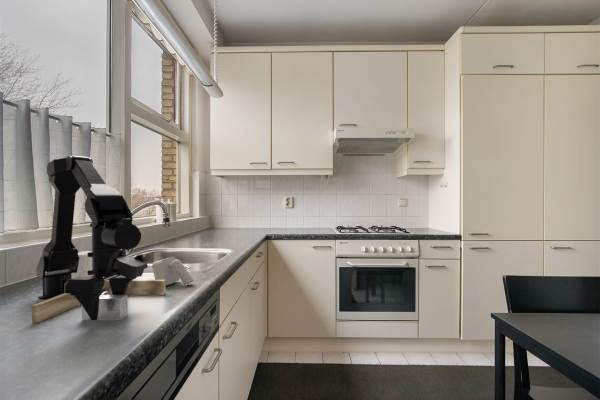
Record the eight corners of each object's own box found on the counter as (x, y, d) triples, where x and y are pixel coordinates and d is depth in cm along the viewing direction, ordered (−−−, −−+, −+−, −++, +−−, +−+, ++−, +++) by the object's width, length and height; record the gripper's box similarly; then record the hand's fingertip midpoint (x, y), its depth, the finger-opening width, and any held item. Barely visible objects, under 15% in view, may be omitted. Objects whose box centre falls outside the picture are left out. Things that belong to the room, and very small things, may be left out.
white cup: (102, 280, 108) (102, 252, 108) (76, 286, 102) (76, 255, 102) (91, 278, 113) (91, 250, 113) (65, 282, 106) (65, 253, 106)
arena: (32, 323, 70) (32, 305, 70) (101, 293, 93) (101, 279, 93) (117, 323, 70) (117, 305, 70) (165, 293, 92) (165, 279, 93)
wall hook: (186, 287, 97) (179, 255, 97) (158, 293, 99) (151, 262, 99) (200, 280, 104) (193, 251, 105) (173, 286, 106) (166, 258, 107)
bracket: (81, 320, 72) (81, 298, 72) (98, 311, 77) (98, 291, 77) (120, 320, 71) (119, 298, 71) (133, 311, 77) (133, 291, 77)
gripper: (114, 253, 63) (115, 329, 63) (159, 241, 82) (160, 300, 82) (61, 253, 64) (62, 329, 64) (118, 241, 82) (119, 300, 82)
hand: (107, 313), depth 73 cm, fingers open, 8 cm apart
